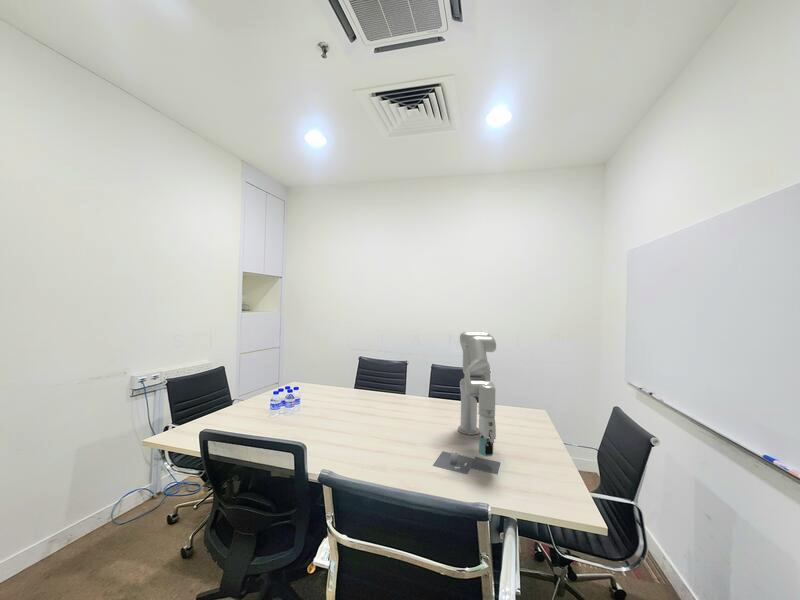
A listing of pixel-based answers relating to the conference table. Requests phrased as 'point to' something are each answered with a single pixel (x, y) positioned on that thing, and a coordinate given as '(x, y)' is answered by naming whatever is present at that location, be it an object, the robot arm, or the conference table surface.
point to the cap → (483, 446)
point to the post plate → (450, 466)
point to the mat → (486, 465)
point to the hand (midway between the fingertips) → (486, 450)
